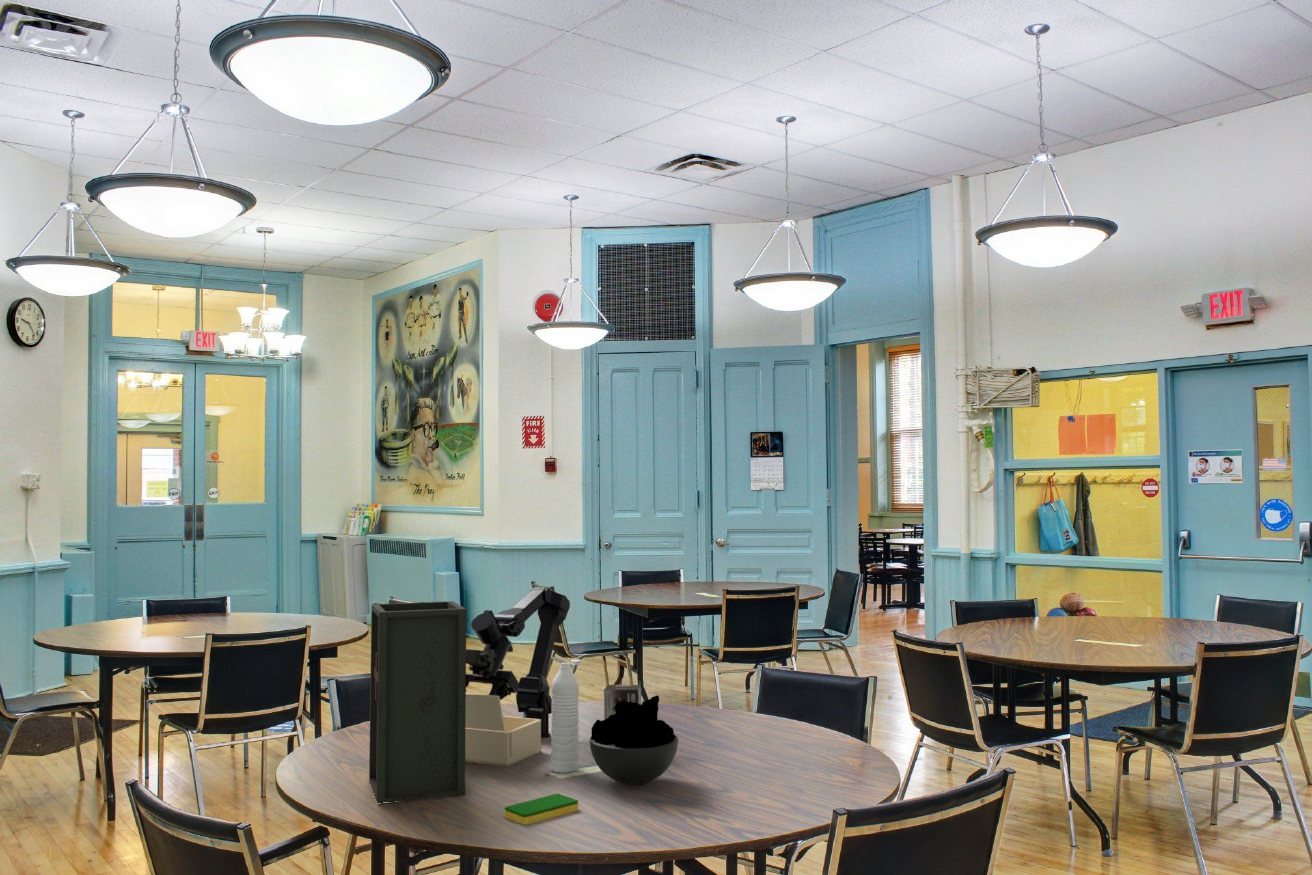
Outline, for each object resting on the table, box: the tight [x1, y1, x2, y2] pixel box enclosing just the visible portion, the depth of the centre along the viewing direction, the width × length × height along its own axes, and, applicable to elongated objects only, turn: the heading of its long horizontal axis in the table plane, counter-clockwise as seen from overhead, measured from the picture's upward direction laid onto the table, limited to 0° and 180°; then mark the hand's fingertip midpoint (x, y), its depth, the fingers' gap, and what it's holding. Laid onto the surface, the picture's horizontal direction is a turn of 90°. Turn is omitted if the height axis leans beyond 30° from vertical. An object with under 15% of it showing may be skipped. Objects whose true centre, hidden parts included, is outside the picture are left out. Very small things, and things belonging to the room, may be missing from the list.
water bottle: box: [550, 659, 582, 774], centre depth 242 cm, size 9×6×25 cm
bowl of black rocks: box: [589, 694, 679, 786], centre depth 229 cm, size 20×20×19 cm
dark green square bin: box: [368, 600, 467, 804], centre depth 226 cm, size 18×18×40 cm
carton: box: [465, 715, 542, 768], centre depth 255 cm, size 16×21×8 cm
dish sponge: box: [504, 793, 579, 825], centre depth 207 cm, size 7×14×2 cm, turn 133°
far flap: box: [465, 692, 505, 731], centre depth 246 cm, size 9×19×1 cm
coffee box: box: [603, 684, 642, 720], centre depth 259 cm, size 9×6×16 cm
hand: (468, 708), depth 246 cm, fingers open, 9 cm apart
